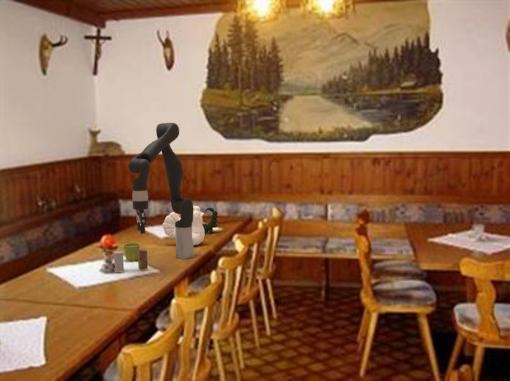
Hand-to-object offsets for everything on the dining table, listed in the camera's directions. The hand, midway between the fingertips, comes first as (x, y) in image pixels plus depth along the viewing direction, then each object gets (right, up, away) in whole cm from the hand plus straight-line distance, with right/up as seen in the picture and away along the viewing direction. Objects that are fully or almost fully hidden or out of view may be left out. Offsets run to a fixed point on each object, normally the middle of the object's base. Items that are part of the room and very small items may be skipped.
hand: (141, 231), depth 271 cm
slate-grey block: (-12, -20, +4) cm, 24 cm away
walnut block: (-1, -20, +9) cm, 22 cm away
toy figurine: (+19, -9, +103) cm, 105 cm away
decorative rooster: (+13, -13, +66) cm, 68 cm away
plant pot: (-11, -18, +28) cm, 35 cm away
